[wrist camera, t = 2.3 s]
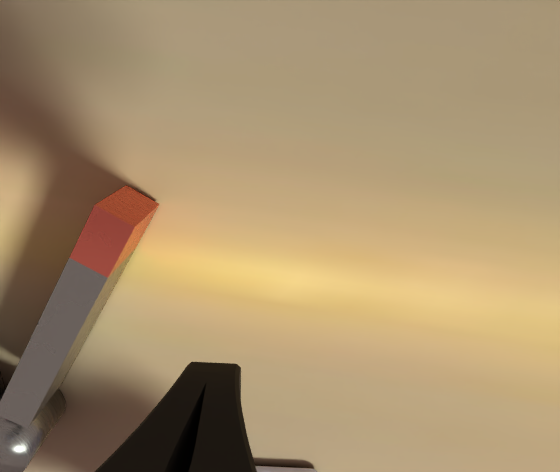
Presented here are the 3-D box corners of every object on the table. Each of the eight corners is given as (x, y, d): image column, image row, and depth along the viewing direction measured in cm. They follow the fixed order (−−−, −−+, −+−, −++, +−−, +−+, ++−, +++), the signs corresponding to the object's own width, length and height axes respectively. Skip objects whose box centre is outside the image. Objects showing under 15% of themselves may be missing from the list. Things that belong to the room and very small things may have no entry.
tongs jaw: (62, 382, 21) (28, 428, 18) (33, 369, 21) (-6, 413, 18) (159, 204, 17) (134, 227, 14) (126, 185, 17) (94, 204, 14)
